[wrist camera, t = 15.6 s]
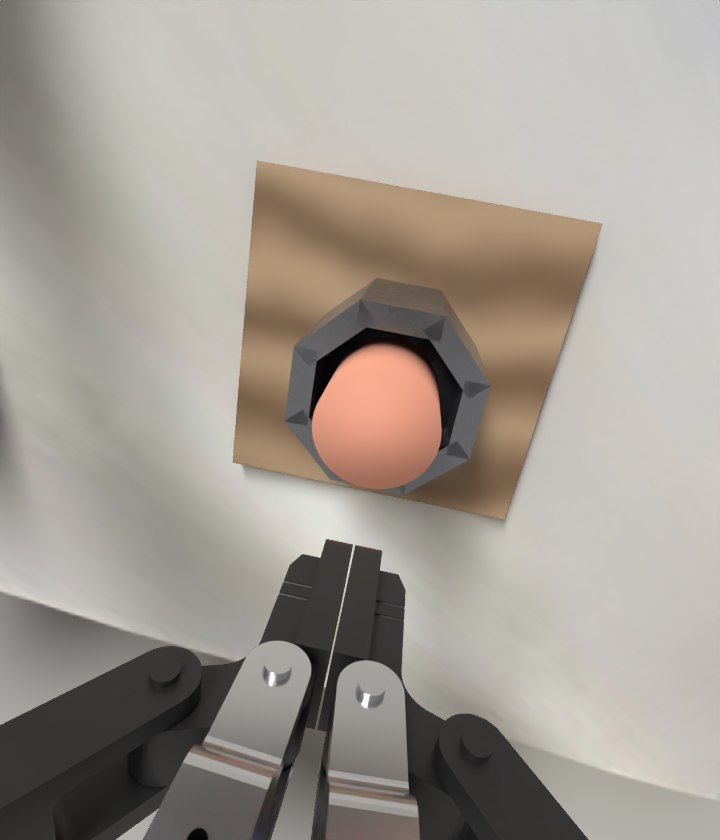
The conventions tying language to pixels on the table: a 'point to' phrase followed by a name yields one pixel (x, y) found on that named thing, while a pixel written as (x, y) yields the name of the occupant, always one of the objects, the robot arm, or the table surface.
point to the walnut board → (418, 265)
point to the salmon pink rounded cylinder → (379, 415)
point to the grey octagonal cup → (408, 320)
